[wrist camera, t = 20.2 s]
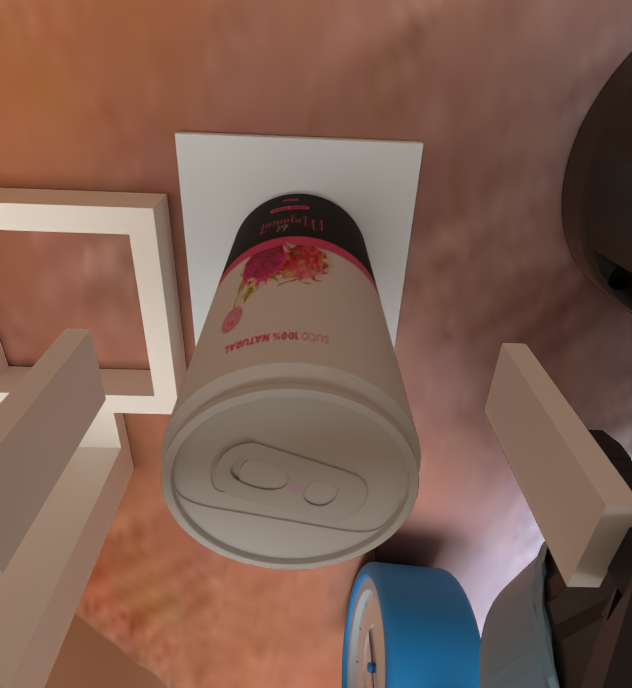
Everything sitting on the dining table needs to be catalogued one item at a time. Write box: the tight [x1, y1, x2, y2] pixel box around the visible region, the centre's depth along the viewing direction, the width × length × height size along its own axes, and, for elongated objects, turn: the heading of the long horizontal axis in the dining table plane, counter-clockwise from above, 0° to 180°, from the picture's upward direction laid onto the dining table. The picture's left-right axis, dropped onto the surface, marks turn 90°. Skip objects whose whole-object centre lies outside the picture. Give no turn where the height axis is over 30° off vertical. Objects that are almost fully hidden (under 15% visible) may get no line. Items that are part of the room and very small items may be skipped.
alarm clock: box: [342, 549, 481, 688], centre depth 33 cm, size 13×6×15 cm, turn 170°
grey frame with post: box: [0, 188, 187, 688], centre depth 22 cm, size 11×18×16 cm, turn 178°
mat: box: [175, 131, 423, 348], centre depth 25 cm, size 11×11×1 cm
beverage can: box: [161, 194, 421, 569], centre depth 18 cm, size 6×6×15 cm
